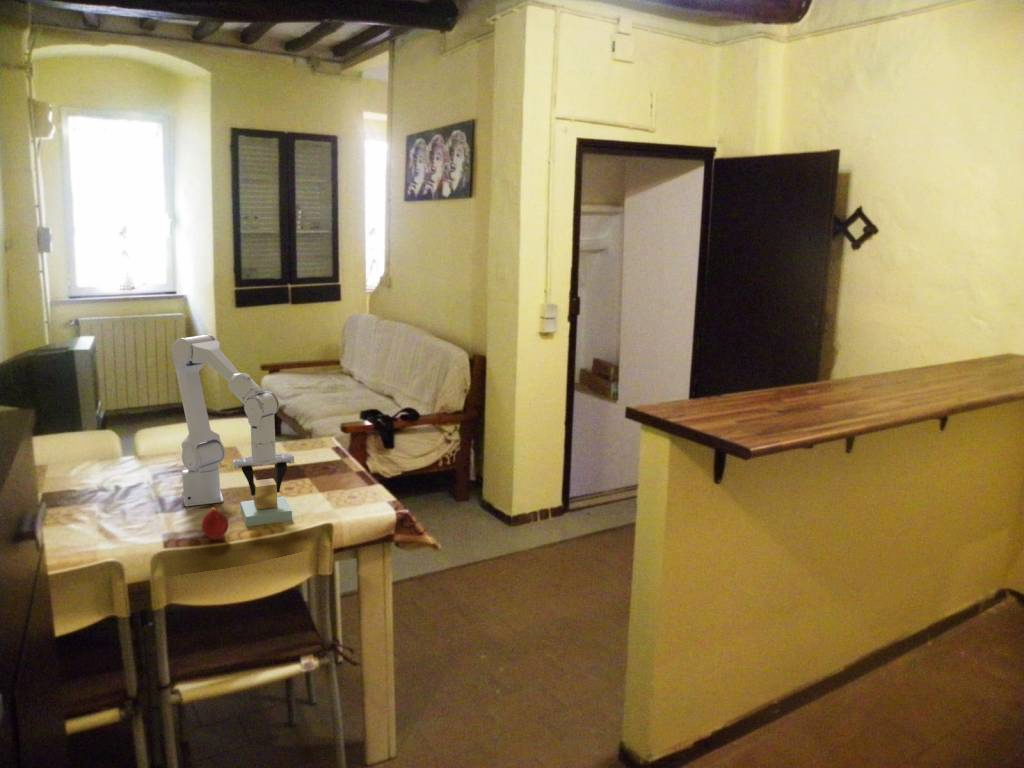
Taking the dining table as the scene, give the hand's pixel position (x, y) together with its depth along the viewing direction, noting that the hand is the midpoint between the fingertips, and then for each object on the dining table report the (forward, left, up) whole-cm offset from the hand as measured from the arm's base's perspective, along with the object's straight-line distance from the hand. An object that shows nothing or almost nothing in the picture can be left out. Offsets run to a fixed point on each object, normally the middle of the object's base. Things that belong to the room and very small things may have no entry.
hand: (265, 492), depth 196 cm
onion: (-13, -11, -6) cm, 18 cm away
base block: (0, 0, -7) cm, 7 cm away
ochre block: (0, 0, -3) cm, 3 cm away
